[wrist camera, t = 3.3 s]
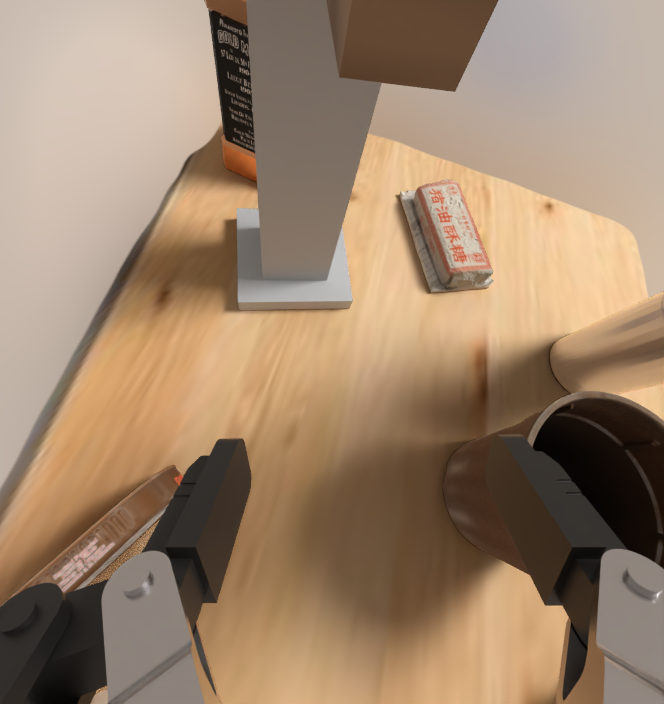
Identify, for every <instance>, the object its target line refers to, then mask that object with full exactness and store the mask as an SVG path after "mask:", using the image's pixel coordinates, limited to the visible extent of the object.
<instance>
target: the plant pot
mask: <svg viewBox="0 0 664 704" xmlns="http://www.w3.org/2000/svg"><path fill="white" fill-rule="evenodd" d="M515 434H520V435H523V436H524V437H525V438H526V439H527V441H528V442H529V444H530V445H531V446H532V448H533V449H534V450H535V451H542V452H544V453H545V454H546V455H548V456H549V457H550V458H552V459H553V460H554V461H556V462H557V463H558V464H560V466H561V467H562V468H563V469H564V471H565V472H566V473H567V474H568V476H569V477H570V478H571V481H572V482H574V483H575V485H576V486H577V487H578V488H579V490H580V491H581V493H582V495H584V496H585V497H586V498H587V500H588V501H589V502H590V503H591V505H592V506H593V507H594V508H595V510H596V511H597V512H598V513H599V515H600V516H601V517H602V518H603V520H604V521H605V522H606V523H607V525H608V526H609V527H610V528H611V530H612V531H613V532H614V533H615V535H616V536H617V537H618V538H619V540H620V541H621V542H622V543H623V545H624V546H625V547H626V548H627V549H628V550H629V551H632V552H635V553H637V554H640V555H642V556H644V557H646V558H648V559H650V560H651V561H653V562H655V563H656V564H657V565H659V566H660V567H662V568H663V569H664V421H663V420H662V419H661V418H659V417H658V416H657V415H655V414H654V413H652V412H651V411H649V410H648V409H646V408H645V407H643V406H641V405H639V404H637V403H635V402H633V401H631V400H629V399H627V398H624V397H621V396H618V395H615V394H611V393H606V392H599V391H583V392H577V393H573V394H570V395H567V396H564V397H562V398H560V399H558V400H556V401H554V402H552V403H551V404H549V405H548V406H547V407H546V408H545V409H544V410H543V411H541V412H539V413H536V414H534V415H532V416H530V417H528V418H526V419H525V420H524V421H522V422H521V423H520V424H518V425H515V426H512V427H509V428H507V429H504V430H501V431H499V432H496V433H493V434H490V435H487V436H484V437H481V438H479V439H475V440H472V441H470V442H467V443H466V444H464V445H462V446H461V447H460V448H458V449H457V450H456V451H455V452H454V453H453V454H452V456H451V458H450V459H449V461H448V463H447V471H446V474H445V478H444V480H443V494H444V500H445V504H446V507H447V510H448V512H449V515H450V517H451V519H452V521H453V523H454V524H455V526H456V527H457V529H458V530H459V532H460V533H461V534H462V535H463V536H464V537H465V538H466V539H467V540H468V541H469V542H470V543H472V544H473V545H474V546H476V547H478V548H479V549H481V550H483V551H485V552H487V553H489V554H491V555H493V556H495V557H496V558H498V559H500V560H502V561H504V562H506V563H508V564H510V565H512V566H514V567H515V568H517V569H519V570H521V571H523V572H525V573H527V574H529V572H528V570H527V568H526V566H525V564H524V562H523V560H522V558H521V556H520V554H519V552H518V549H517V547H516V545H515V543H514V541H513V539H512V537H511V535H510V533H509V531H508V529H507V527H506V525H505V523H504V521H503V519H502V517H501V515H500V513H499V511H498V509H497V507H496V505H495V503H494V501H493V499H492V497H491V495H490V493H489V490H488V488H487V485H486V480H485V468H486V464H487V460H488V455H489V451H490V447H491V443H492V439H493V437H494V436H495V435H515ZM529 575H530V574H529Z"/></svg>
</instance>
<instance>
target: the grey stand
mask: <svg viewBox="0 0 664 704" xmlns="http://www.w3.org/2000/svg"><path fill="white" fill-rule="evenodd" d="M246 6H247V23H248V39H249V56H250V73H251V90H252V106H253V123H254V140H255V157H256V174H257V190H258V207H259V209H246V208H237V279H238V306H239V310H281V309H340V308H350V306H351V304H352V301H353V299H352V292H351V285H350V278H349V271H348V264H347V257H346V249H345V242H344V235H343V228H342V224H343V221H344V217H345V213H346V210H347V206H348V203H349V199H350V195H351V192H352V188H353V185H354V181H355V177H356V174H357V170H358V167H359V163H360V159H361V156H362V152H363V148H364V145H365V141H366V138H367V134H368V130H369V127H370V123H371V120H372V116H373V112H374V108H375V105H376V101H377V97H378V94H379V91H380V87H381V83H380V82H372V81H364V80H356V79H347V78H339V73H338V67H337V61H336V55H335V49H334V44H333V38H332V32H331V26H330V20H329V14H328V8H327V2H326V0H246Z"/></svg>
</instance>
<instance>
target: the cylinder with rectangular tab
mask: <svg viewBox="0 0 664 704" xmlns="http://www.w3.org/2000/svg"><path fill="white" fill-rule="evenodd" d="M107 703H108V689H106V690H102V691H100V692H98V693H97V694H95V695H94V697H93V699H92V702H91V704H107Z"/></svg>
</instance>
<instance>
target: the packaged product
mask: <svg viewBox="0 0 664 704" xmlns="http://www.w3.org/2000/svg"><path fill="white" fill-rule="evenodd" d="M399 196H400V199H401V203H402V206H403V208H404V211H405V214H406V217H407V220H408V223H409V227H410V230H411V234H412V237H413V240H414V244H415V248H416V251H417V254H418V256H419V259H420V261H421V264H422V268H423V271H424V274H425V277H426V280H427V284H428V286H429V289H430V292H431V293H437V292H449V291H460V290H471V289H482V288H489V286H490V285H491V284H492V282H493V280H492V279H491V275H492V274H493V269H492V267H491V265H490V262H489V259H488V257H487V253H486V251H485V249H484V247H483V244H482V241H481V239H480V237H479V234H478V231H477V228H476V226H475V224H474V221H473V218H472V216H471V214H470V211H469V209H468V207H467V204H466V201H465V199H464V196H463V194H462V191H461V188H460V185H459V184H458V182H456V181H452V180H449V179H447V180H442V181H440V182H436V183H432V184H426V185H423V186H421V187H419V188H418V189H417V190H416V191H407V192H400V195H399Z"/></svg>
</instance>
